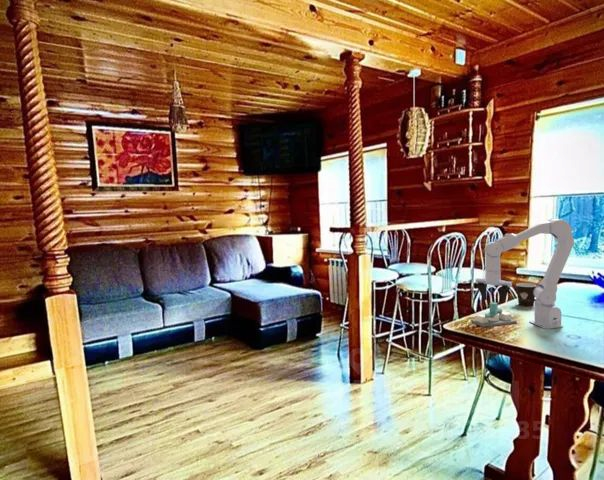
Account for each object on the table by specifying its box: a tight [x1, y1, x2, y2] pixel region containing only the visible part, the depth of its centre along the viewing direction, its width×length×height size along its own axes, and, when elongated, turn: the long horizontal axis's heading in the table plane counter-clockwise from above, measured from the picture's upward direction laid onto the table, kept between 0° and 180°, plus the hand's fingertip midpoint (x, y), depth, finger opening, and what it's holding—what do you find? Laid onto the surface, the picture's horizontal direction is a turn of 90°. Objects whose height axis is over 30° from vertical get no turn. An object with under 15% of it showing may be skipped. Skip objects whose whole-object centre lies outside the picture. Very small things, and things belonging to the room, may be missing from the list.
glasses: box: [484, 301, 503, 318], centre depth 170 cm, size 13×4×5 cm, turn 132°
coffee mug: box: [515, 282, 537, 308], centre depth 192 cm, size 12×9×10 cm
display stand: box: [470, 311, 518, 328], centre depth 170 cm, size 16×8×4 cm, turn 100°
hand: (493, 301), depth 170 cm, fingers open, 7 cm apart
